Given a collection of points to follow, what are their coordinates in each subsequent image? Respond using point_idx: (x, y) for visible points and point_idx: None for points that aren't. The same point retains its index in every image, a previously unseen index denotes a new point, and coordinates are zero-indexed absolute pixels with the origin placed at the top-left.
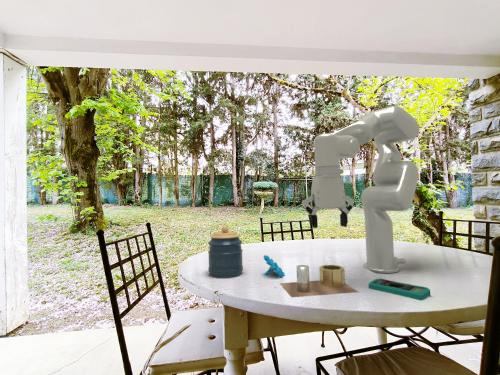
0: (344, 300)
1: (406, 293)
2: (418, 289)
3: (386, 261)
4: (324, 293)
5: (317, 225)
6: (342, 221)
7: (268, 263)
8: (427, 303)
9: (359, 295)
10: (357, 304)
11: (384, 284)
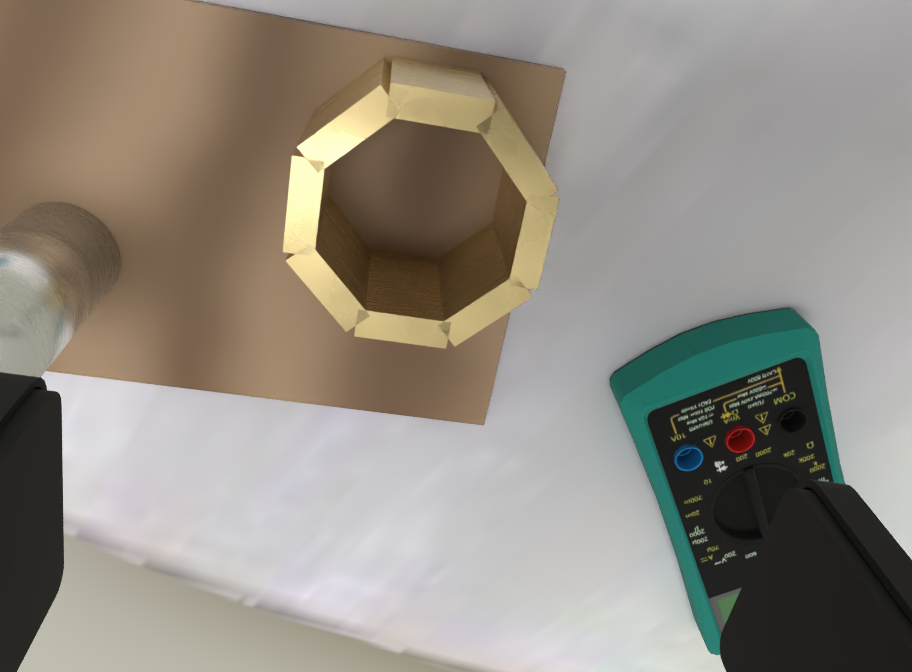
0: (304, 475)
1: (690, 595)
2: None
3: None
4: (210, 371)
5: (40, 622)
6: (796, 657)
7: None
8: None
9: (463, 435)
10: (341, 546)
11: (702, 464)
